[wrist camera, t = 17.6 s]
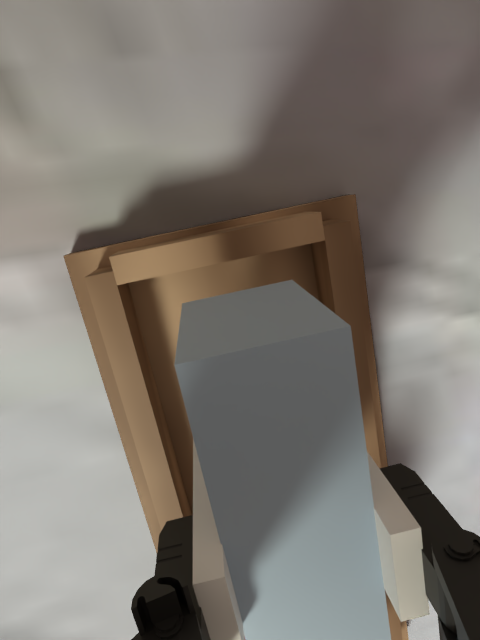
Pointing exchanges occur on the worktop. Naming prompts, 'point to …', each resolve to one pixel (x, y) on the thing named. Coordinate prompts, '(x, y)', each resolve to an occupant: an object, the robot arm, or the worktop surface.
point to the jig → (203, 282)
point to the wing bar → (284, 461)
